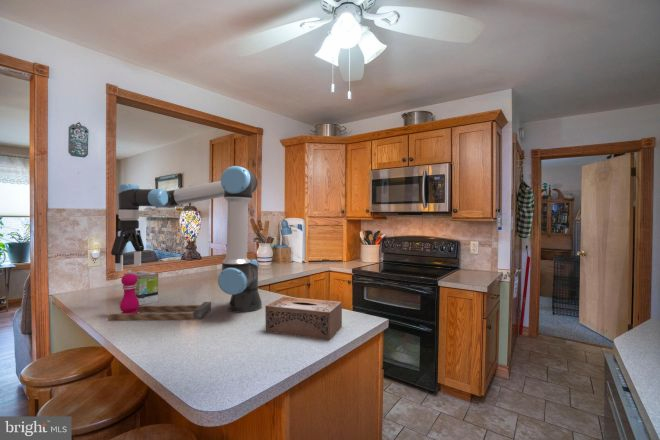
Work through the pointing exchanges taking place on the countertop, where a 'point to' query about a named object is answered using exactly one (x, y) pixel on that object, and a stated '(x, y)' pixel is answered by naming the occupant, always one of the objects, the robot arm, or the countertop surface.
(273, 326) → the tissue box cover
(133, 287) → the pepper mill
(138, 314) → the guide track
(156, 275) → the tea box
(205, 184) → the robot arm
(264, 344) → the countertop surface
